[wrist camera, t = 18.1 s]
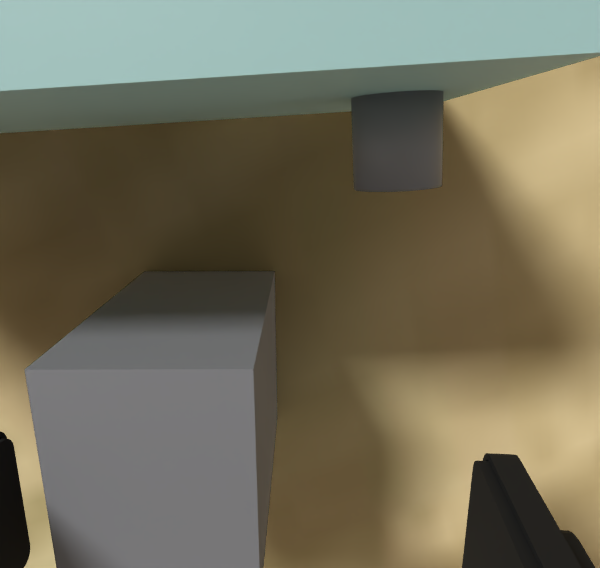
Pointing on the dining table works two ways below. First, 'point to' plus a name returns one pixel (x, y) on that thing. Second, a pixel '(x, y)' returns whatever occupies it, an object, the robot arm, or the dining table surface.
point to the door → (282, 65)
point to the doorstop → (162, 424)
